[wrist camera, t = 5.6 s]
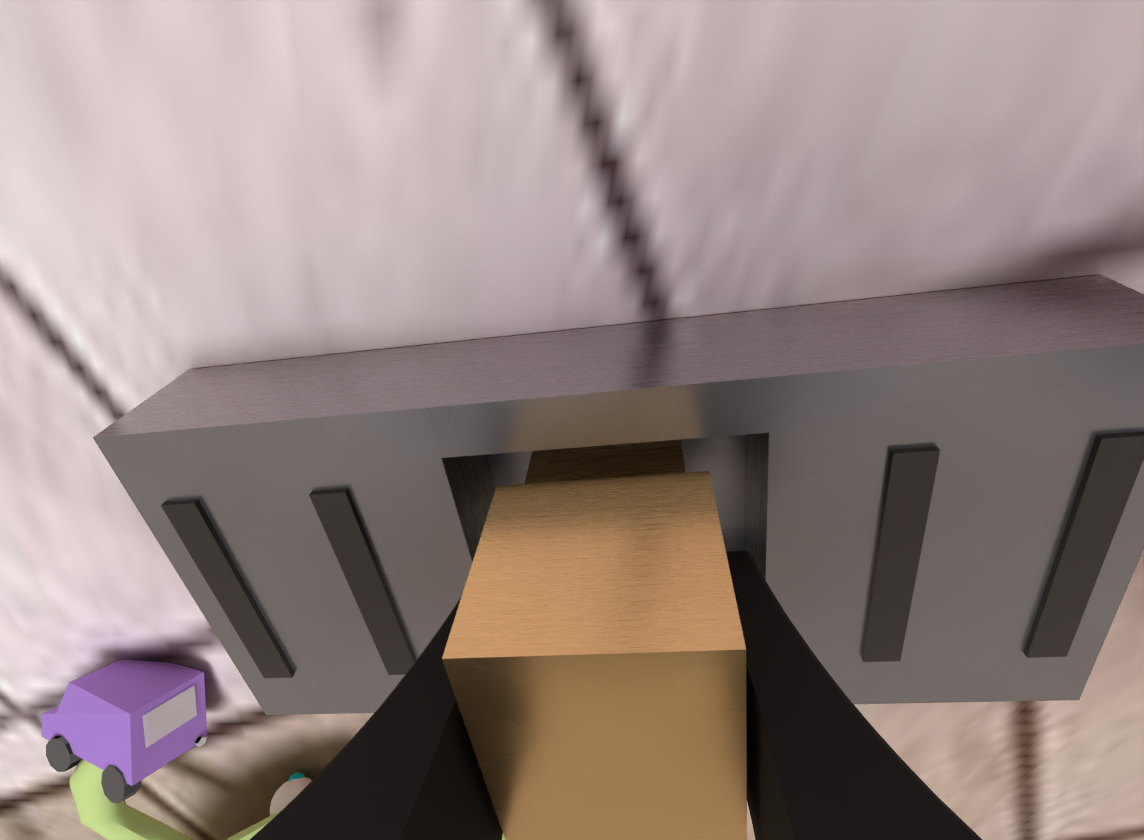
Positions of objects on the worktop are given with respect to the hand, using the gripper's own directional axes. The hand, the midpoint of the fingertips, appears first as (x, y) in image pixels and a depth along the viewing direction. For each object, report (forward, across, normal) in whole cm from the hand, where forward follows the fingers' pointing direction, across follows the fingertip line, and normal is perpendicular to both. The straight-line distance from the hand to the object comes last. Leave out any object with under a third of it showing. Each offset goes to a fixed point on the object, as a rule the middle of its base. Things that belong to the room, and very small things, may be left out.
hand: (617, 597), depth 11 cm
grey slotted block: (+3, 0, 0) cm, 3 cm away
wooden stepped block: (+2, 0, 0) cm, 2 cm away
